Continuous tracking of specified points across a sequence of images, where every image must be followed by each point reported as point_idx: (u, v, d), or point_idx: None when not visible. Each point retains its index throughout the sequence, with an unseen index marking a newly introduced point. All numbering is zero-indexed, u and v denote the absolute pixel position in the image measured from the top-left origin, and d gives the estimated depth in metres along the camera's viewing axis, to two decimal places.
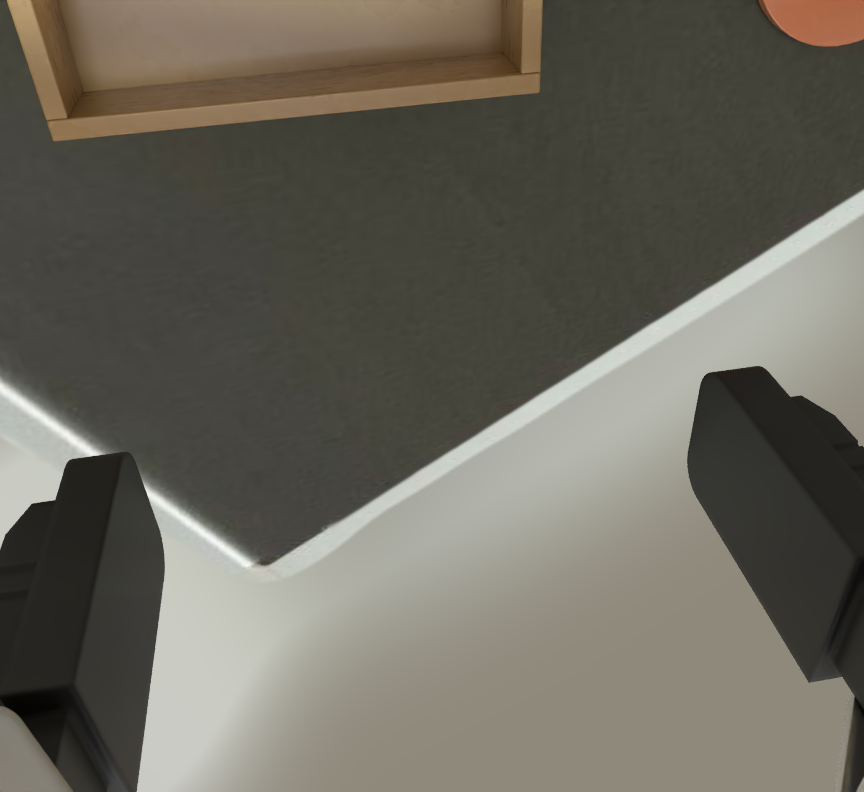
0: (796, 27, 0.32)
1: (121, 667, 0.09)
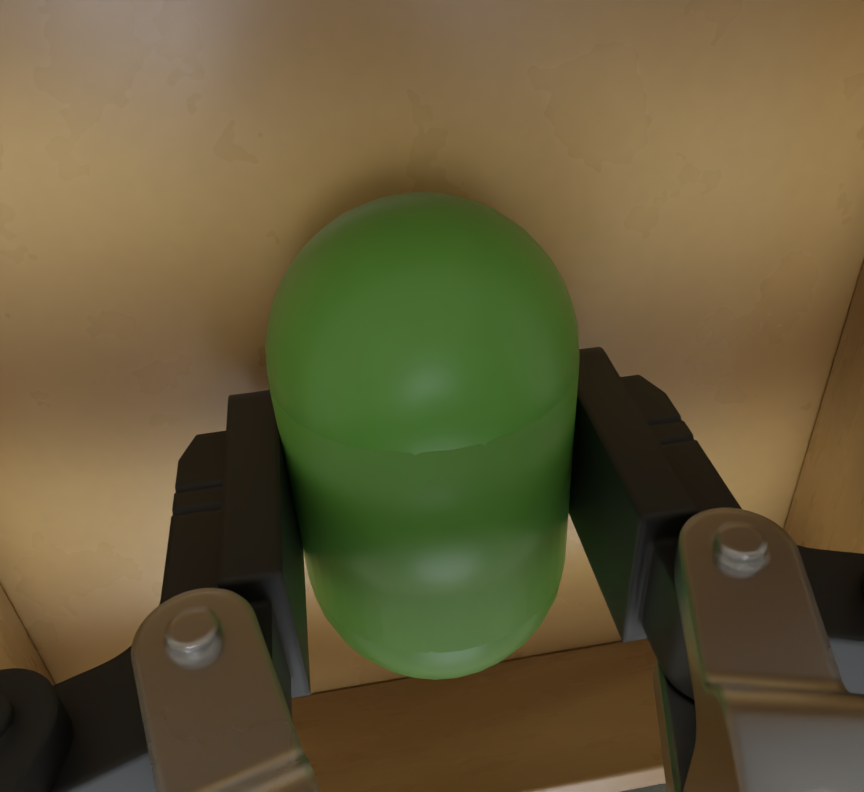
0: None
1: (295, 576, 0.10)
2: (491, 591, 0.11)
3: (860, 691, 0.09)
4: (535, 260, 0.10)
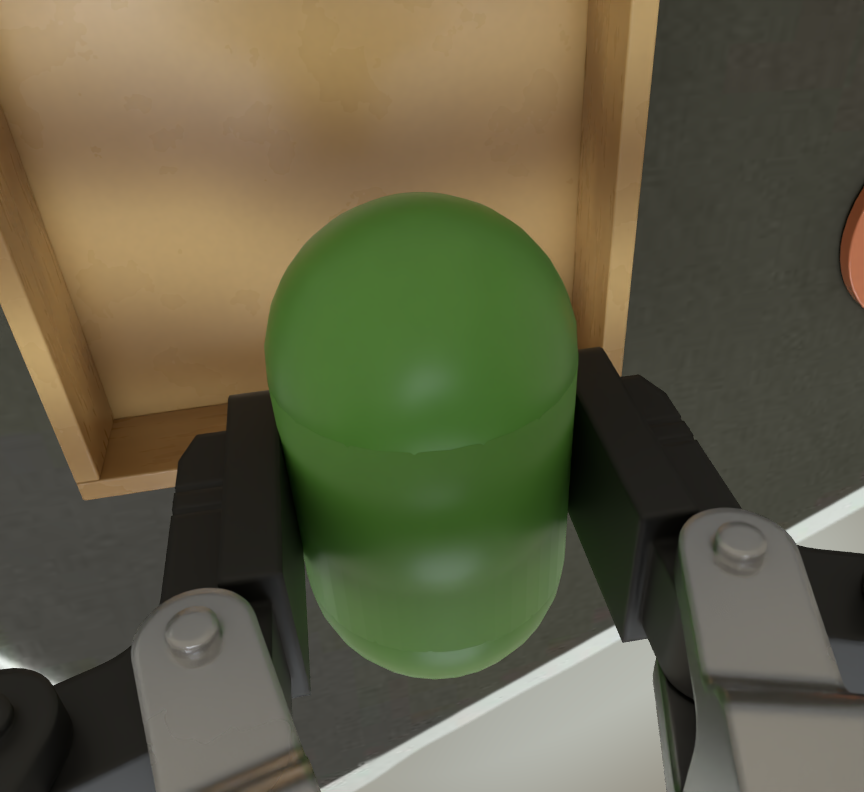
0: None
1: (295, 576, 0.10)
2: (490, 591, 0.11)
3: (860, 691, 0.09)
4: (534, 260, 0.10)
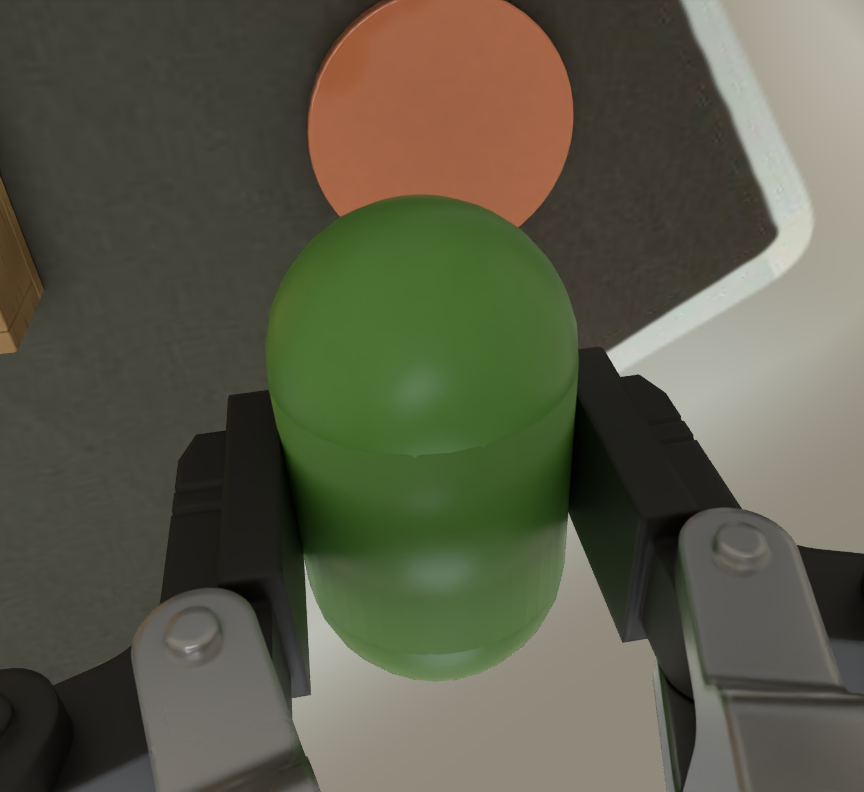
0: None
1: (296, 576, 0.10)
2: (491, 593, 0.11)
3: (860, 690, 0.09)
4: (534, 263, 0.10)
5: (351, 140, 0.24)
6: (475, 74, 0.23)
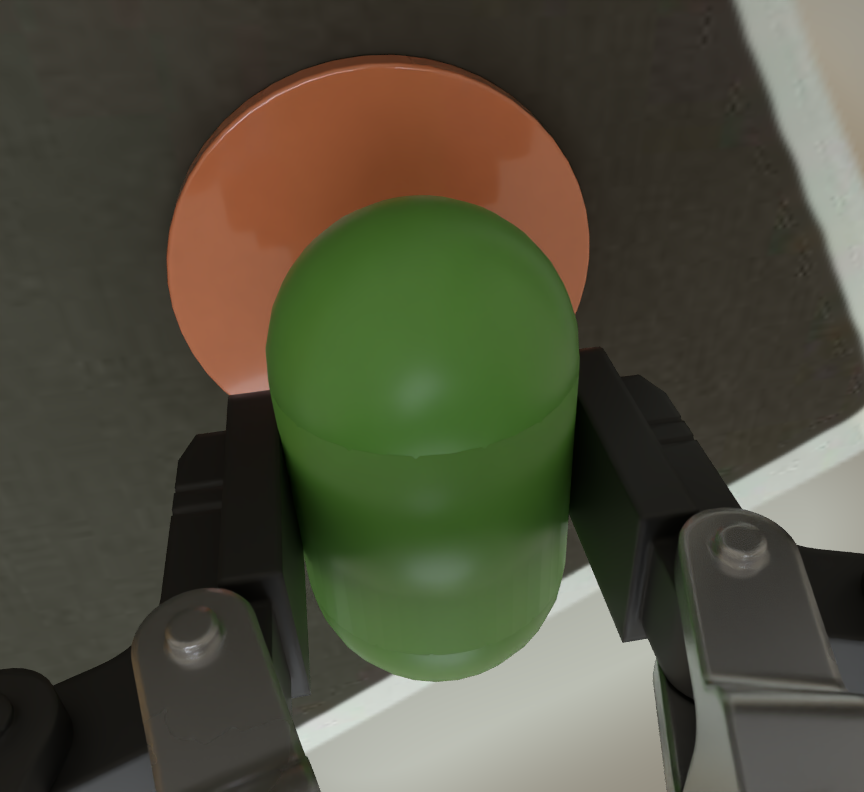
0: None
1: (295, 575, 0.10)
2: (491, 594, 0.11)
3: (860, 691, 0.09)
4: (535, 263, 0.10)
5: (239, 292, 0.15)
6: (435, 194, 0.15)
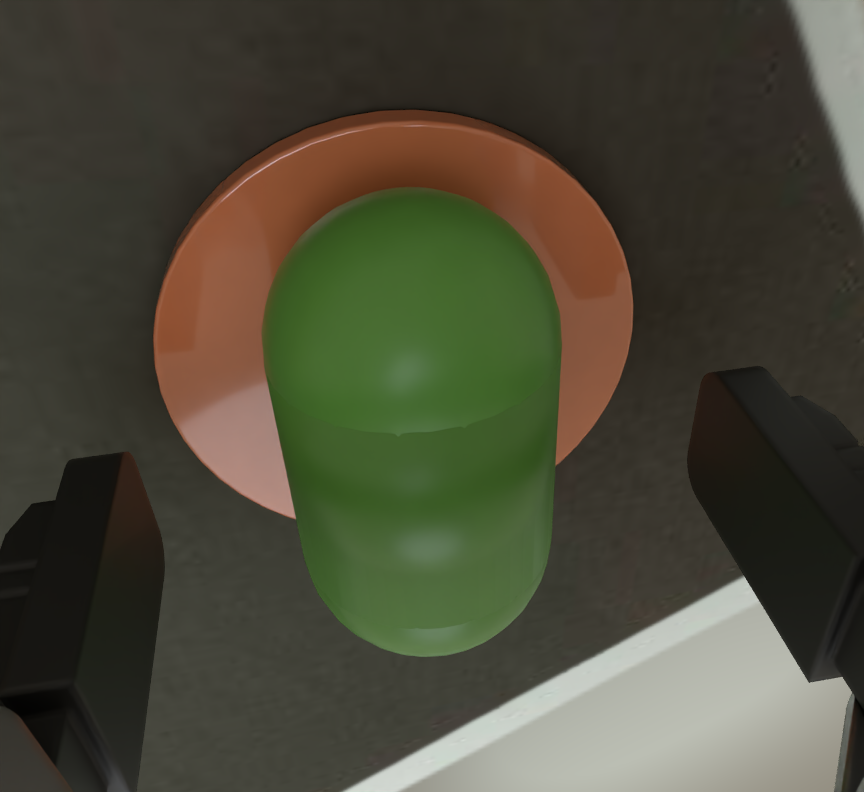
0: None
1: (121, 667, 0.09)
2: (474, 570, 0.11)
3: None
4: (517, 253, 0.10)
5: (236, 375, 0.13)
6: None
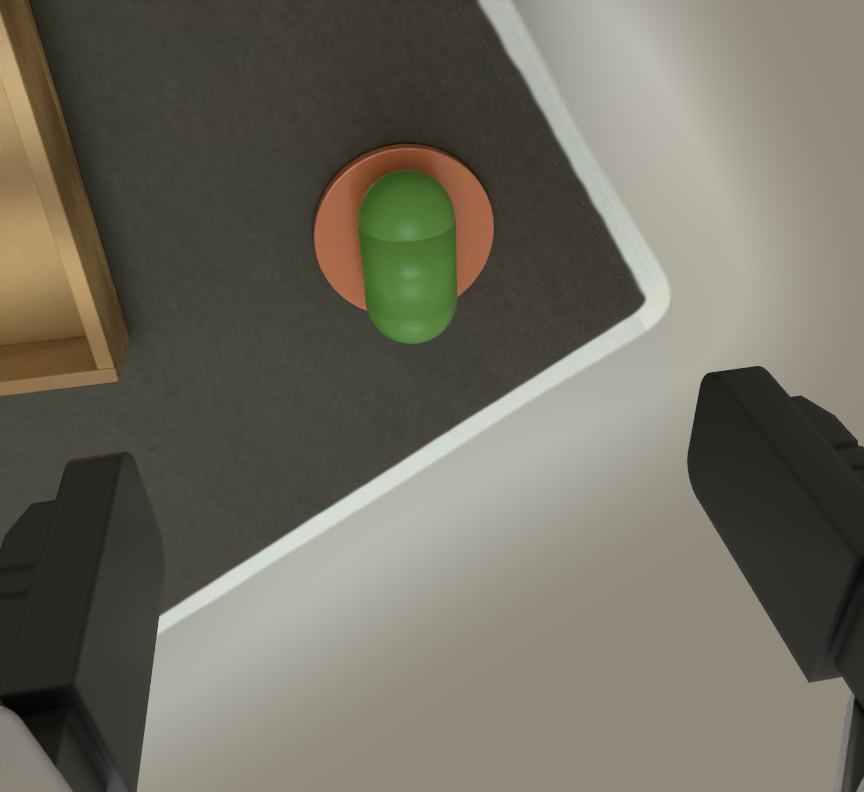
0: None
1: (122, 667, 0.09)
2: (424, 297, 0.34)
3: None
4: (438, 190, 0.32)
5: (343, 240, 0.36)
6: None
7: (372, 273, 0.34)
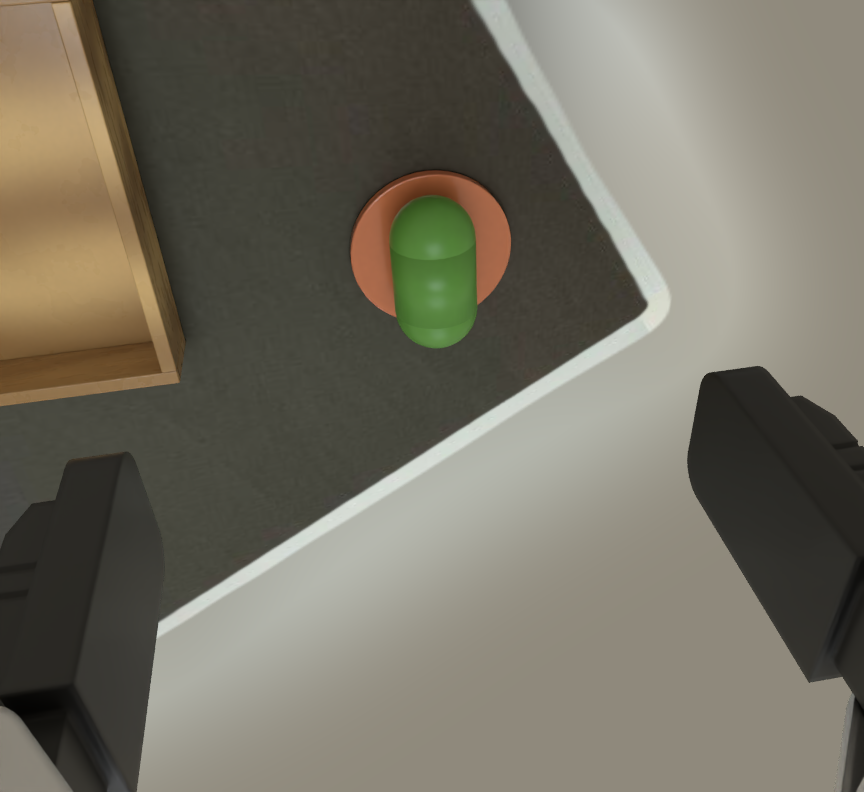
0: None
1: (121, 667, 0.09)
2: (446, 308, 0.38)
3: None
4: (460, 214, 0.37)
5: (376, 256, 0.40)
6: None
7: (401, 286, 0.38)
